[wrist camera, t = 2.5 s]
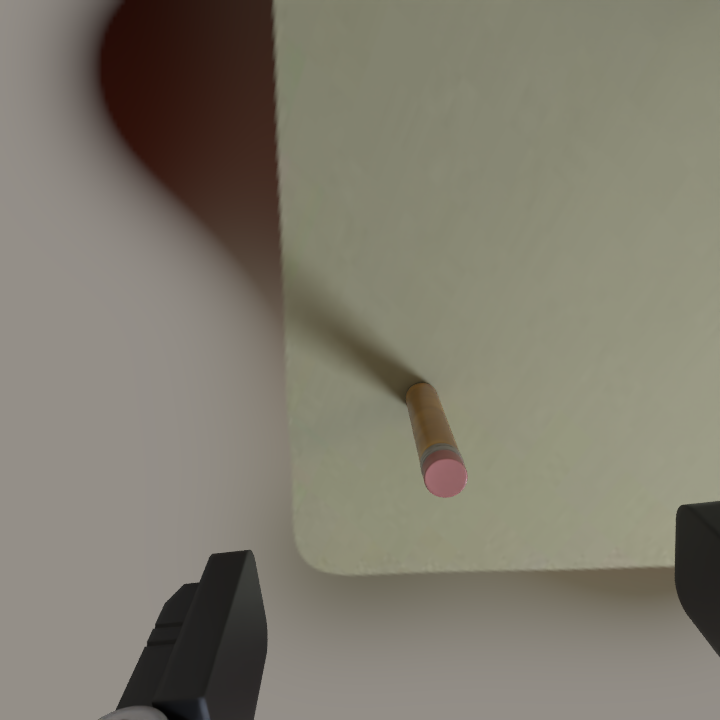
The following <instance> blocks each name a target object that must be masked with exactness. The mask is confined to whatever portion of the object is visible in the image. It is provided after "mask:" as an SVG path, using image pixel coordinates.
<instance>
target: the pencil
mask: <svg viewBox="0 0 720 720" xmlns="http://www.w3.org/2000/svg"><path fill="white" fill-rule="evenodd" d="M406 403H407V407H408V412H409V416H410V420H411V425H412V429H413V434H414V438H415V443H416V447H417V451H418V456H419V460H420V467H421V472H422V475H423V478H424V482H425V485H426V487H427V489H428V490H429V491H430V492H431V493H432V494H434V495H436V496H438V497H452V496H454V495H456V494H458V493H460V492H461V491H462V490H463V488H464V487H465V485H466V483H467V477H468V476H467V471H466V468H465V466H464V461H463V459H462V456H461V454H460V452H459V450H458V447H457V445H456V442H455V439H454V437H453V434H452V431H451V429H450V426H449V424H448V421H447V418H446V416H445V413H444V410H443V408H442V405H441V403H440V400H439V397H438V395H437V392H436V390H435V389H434V388H433V387H432V386H431V385H429V384H427V383H417V384H415V385H413V386H412V387H411V388H410V389H409V390H408V392H407V394H406Z"/></svg>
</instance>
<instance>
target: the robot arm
mask: <svg viewBox="0 0 720 720" xmlns="http://www.w3.org/2000/svg"><path fill="white" fill-rule="evenodd" d="M675 585H676V590H677V594H678V597H679V600H680V602H681V605H682V606H683V609H684V610H685V612H686V614H687V615H688V616H689V618H690V619H691V620H692V622H693V623H694V624H695V625H696V627H697V628H698V629H699V631H700V632H701V633H702V635H703V636H704V637H705V638H706V640H707V641H708V642H709V644H710V645H711V646H712V648H713V649H714V650H715V651H716V653H717V654H718V655H719V657H720V501H715V502H706V503H696V504H687V505H681V506H680V507H679V508H678V510H677V514H676V542H675ZM266 654H267V623H266V616H265V610H264V605H263V600H262V594H261V589H260V584H259V578H258V573H257V568H256V562H255V558H254V555H253V553H252V551H251V550H244V551H235V552H226V553H217V554H212V555H211V556H210V557H209V560H208V563H207V565H206V567H205V570H204V572H203V575H202V578H201V580H200V582H199V583H191V584H184V585H183V586H182V587H181V588H180V589H179V590H178V591H177V592H176V593H175V594H174V595H173V596H172V597H171V598H170V599H169V600H168V601H167V602H166V603H165V604H164V606H163V609H162V611H161V613H160V615H159V617H158V619H157V622H156V624H155V629H153V630H152V632H151V635H150V637H149V639H148V641H147V647H145V648H144V650H143V652H142V655H141V657H140V658H139V661H138V663H137V665H136V667H135V670H134V671H133V674H132V676H131V678H130V680H129V682H128V684H127V687H126V689H125V691H124V693H123V696H122V698H121V700H120V702H119V704H118V706H117V708H116V710H115V711H114V712H111V713H109V714H107V715H105V716H103V717H101V718H100V719H98V720H254V715H255V710H256V705H257V700H258V695H259V690H260V685H261V680H262V674H263V669H264V664H265V659H266Z"/></svg>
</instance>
